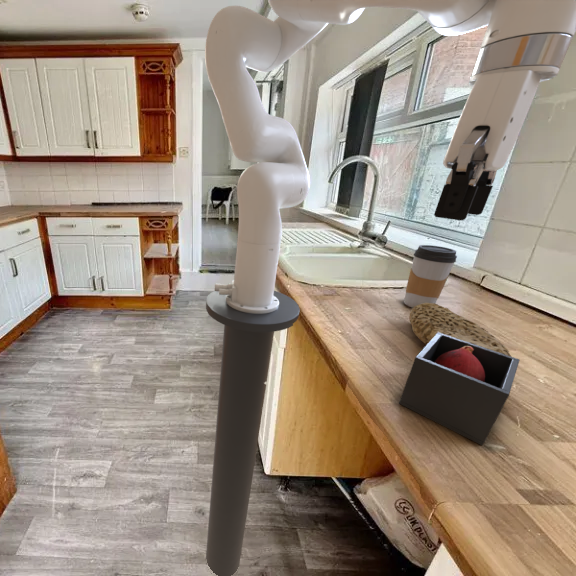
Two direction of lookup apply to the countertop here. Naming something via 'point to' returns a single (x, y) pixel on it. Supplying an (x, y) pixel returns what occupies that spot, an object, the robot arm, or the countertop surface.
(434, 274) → the coffee cup
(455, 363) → the onion
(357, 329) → the countertop surface
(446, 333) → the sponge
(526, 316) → the countertop surface
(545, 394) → the countertop surface
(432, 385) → the waste bin
